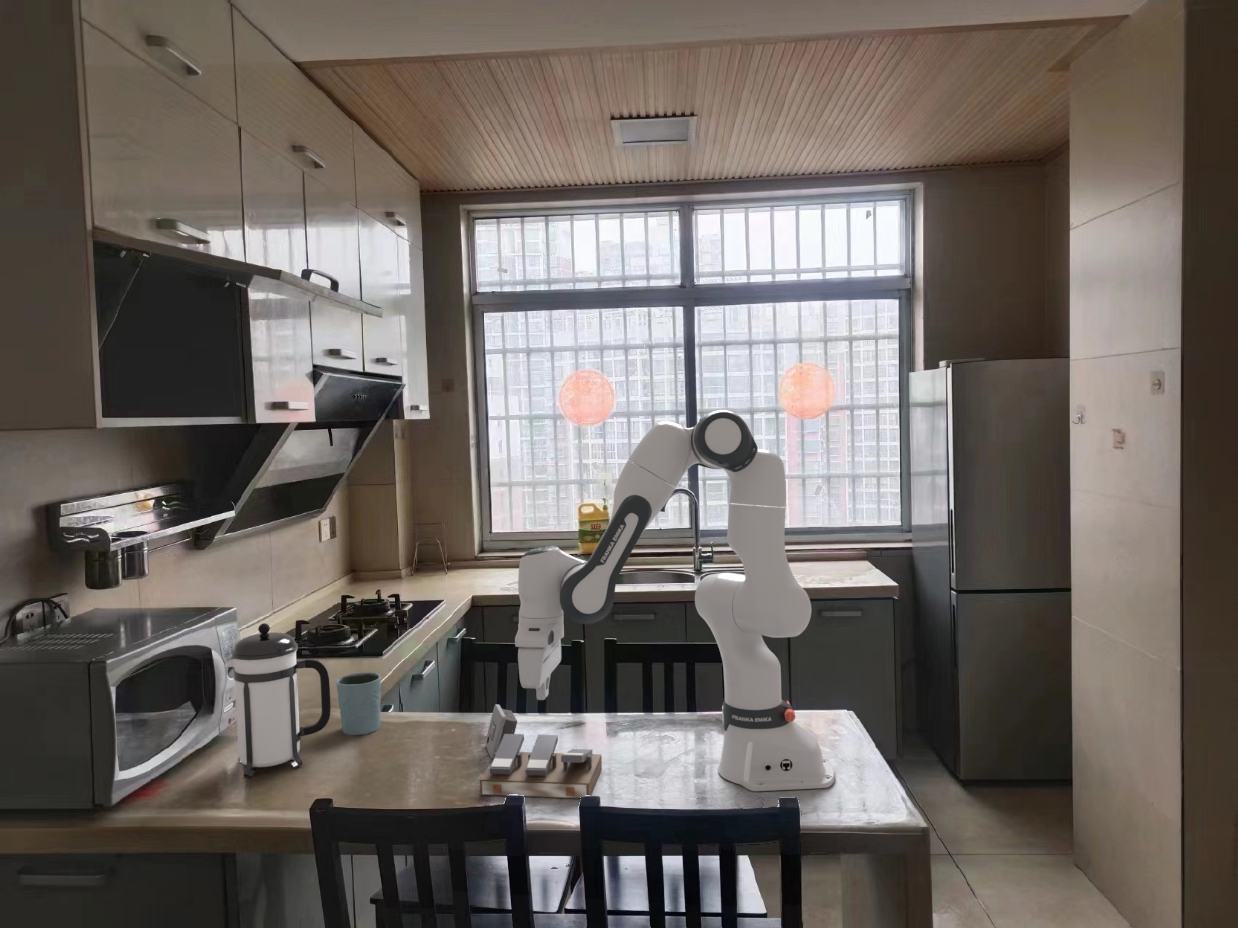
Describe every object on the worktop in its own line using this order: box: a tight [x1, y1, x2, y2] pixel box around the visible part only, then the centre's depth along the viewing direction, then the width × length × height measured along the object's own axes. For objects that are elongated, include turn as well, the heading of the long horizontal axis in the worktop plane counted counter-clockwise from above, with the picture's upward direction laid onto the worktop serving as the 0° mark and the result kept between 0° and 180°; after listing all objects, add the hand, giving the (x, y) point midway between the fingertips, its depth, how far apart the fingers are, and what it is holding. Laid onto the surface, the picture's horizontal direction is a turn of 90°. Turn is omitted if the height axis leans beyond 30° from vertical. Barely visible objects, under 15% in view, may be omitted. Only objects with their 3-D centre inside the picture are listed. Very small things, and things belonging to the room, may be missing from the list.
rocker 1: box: [489, 733, 525, 774], centre depth 169 cm, size 4×11×1 cm, turn 172°
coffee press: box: [224, 623, 332, 779], centre depth 181 cm, size 17×16×30 cm
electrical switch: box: [484, 704, 518, 760], centre depth 185 cm, size 9×5×9 cm, turn 17°
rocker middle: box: [525, 734, 559, 776], centre depth 168 cm, size 4×11×1 cm, turn 172°
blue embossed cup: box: [335, 672, 382, 736], centre depth 201 cm, size 10×10×12 cm
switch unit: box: [479, 751, 603, 800], centre depth 168 cm, size 21×14×5 cm
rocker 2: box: [561, 748, 593, 763], centre depth 167 cm, size 4×11×1 cm, turn 172°
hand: (542, 697), depth 171 cm, fingers closed
